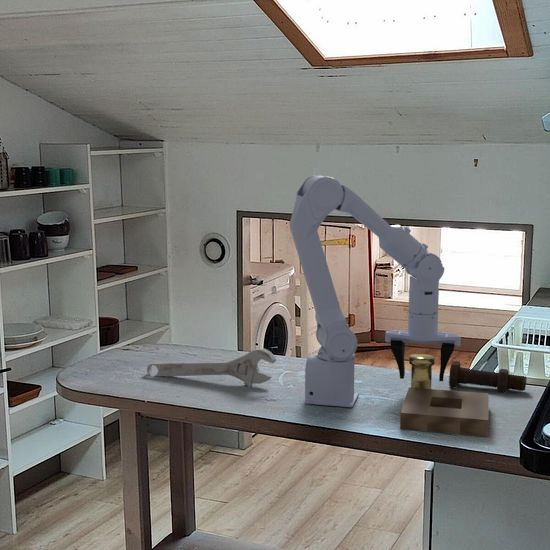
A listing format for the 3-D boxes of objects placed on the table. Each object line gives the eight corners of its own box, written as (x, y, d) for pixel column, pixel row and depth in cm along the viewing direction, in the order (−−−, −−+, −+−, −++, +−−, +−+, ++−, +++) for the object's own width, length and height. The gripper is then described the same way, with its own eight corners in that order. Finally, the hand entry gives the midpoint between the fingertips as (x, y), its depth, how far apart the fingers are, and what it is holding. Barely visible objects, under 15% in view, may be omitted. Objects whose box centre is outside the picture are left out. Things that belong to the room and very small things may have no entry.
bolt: (524, 402, 160) (449, 392, 165) (526, 384, 163) (452, 375, 168) (525, 382, 156) (448, 372, 161) (527, 364, 160) (452, 355, 165)
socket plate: (400, 428, 140) (400, 412, 140) (408, 402, 154) (408, 387, 154) (487, 436, 136) (488, 420, 136) (487, 408, 150) (488, 393, 150)
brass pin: (407, 398, 156) (407, 359, 155) (409, 391, 161) (410, 353, 160) (432, 400, 155) (433, 361, 154) (434, 393, 160) (435, 354, 158)
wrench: (153, 386, 175) (279, 385, 164) (148, 389, 173) (276, 387, 162) (148, 351, 174) (274, 347, 163) (143, 353, 172) (271, 349, 161)
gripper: (461, 309, 157) (459, 375, 159) (388, 306, 161) (387, 370, 163) (460, 317, 150) (458, 385, 153) (384, 313, 154) (383, 380, 156)
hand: (421, 378), depth 158 cm, fingers open, 7 cm apart
